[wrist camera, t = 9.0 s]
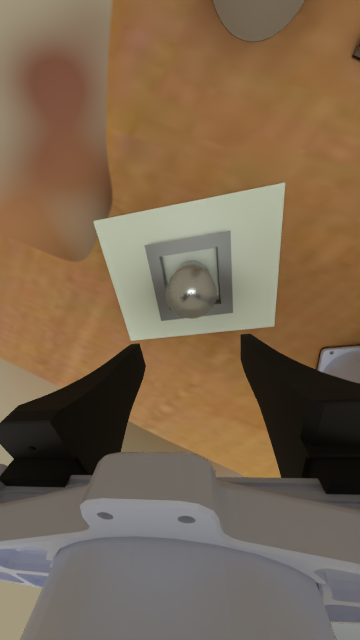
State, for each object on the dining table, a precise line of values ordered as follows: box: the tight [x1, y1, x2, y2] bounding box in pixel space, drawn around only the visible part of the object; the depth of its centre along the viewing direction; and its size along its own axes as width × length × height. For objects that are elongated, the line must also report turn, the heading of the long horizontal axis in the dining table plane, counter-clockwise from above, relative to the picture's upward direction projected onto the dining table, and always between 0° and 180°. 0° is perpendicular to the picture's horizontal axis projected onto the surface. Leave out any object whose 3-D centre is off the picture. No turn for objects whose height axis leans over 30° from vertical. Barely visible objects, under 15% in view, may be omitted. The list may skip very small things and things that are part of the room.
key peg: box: [166, 260, 217, 319], centre depth 16 cm, size 4×4×6 cm
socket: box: [93, 183, 285, 341], centre depth 18 cm, size 18×14×2 cm
